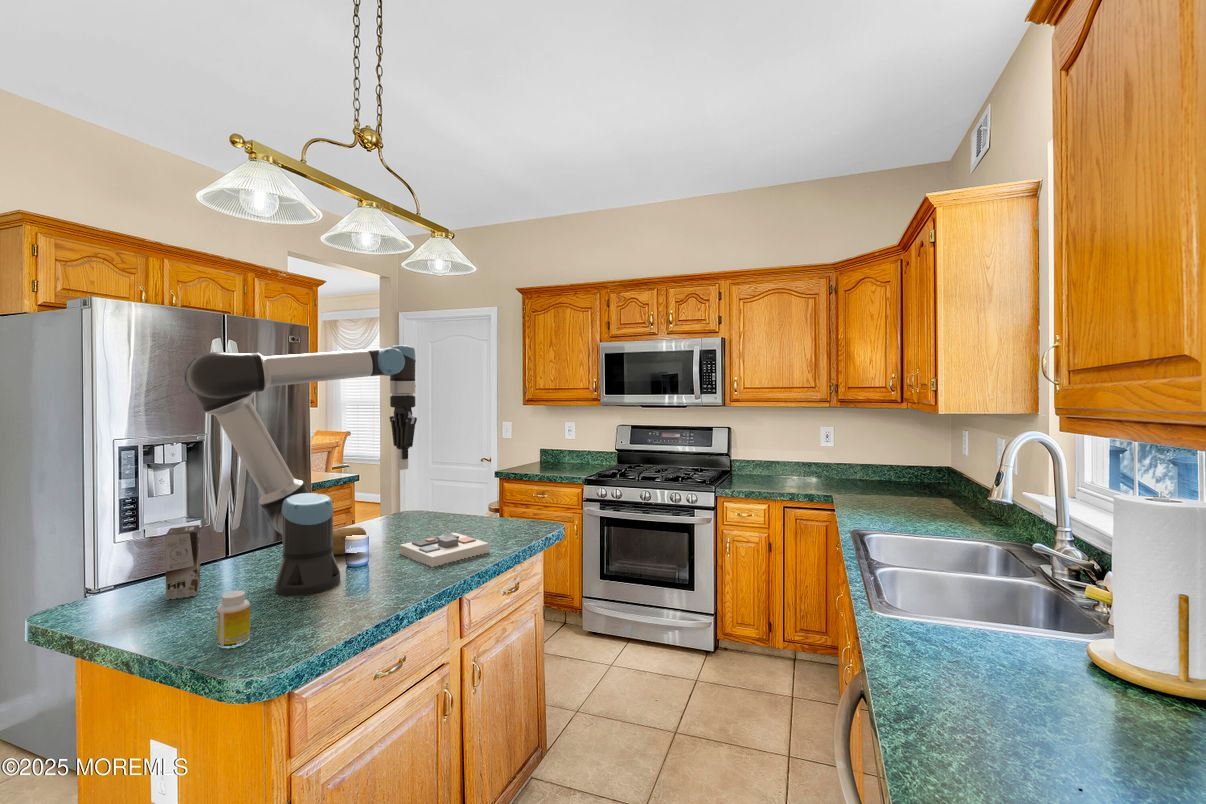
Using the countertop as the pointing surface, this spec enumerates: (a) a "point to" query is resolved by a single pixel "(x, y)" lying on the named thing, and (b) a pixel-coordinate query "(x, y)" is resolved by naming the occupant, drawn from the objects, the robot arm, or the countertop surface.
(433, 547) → the key slate
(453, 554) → the keypad
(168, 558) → the coffee box
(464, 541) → the key terracotta
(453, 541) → the key charcoal
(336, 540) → the potato
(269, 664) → the countertop surface
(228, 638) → the supplement bottle
